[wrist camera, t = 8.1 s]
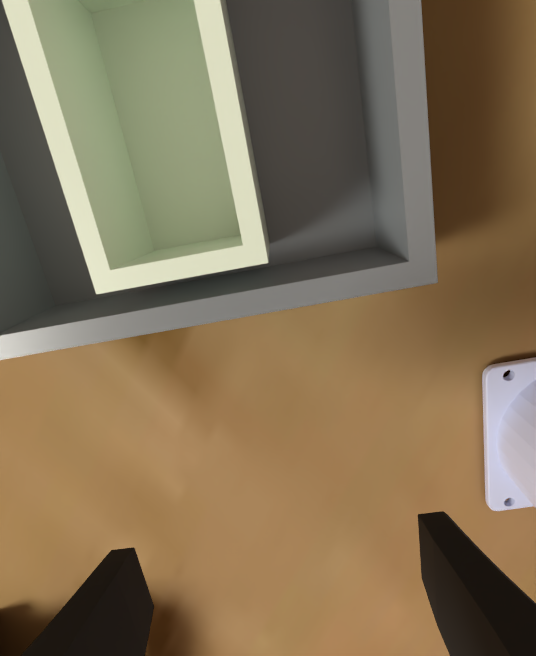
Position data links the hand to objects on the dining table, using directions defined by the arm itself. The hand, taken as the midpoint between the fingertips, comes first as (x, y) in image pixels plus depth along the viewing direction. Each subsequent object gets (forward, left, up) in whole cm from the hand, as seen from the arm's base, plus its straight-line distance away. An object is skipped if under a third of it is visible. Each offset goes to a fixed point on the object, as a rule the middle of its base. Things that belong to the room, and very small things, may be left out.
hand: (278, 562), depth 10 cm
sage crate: (+2, -12, -8) cm, 14 cm away
